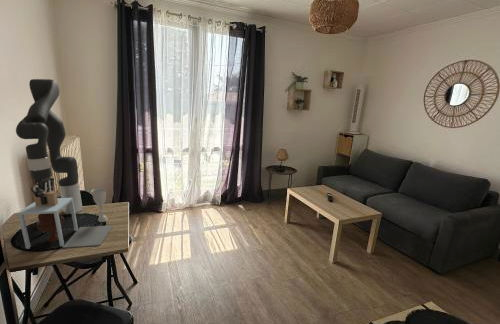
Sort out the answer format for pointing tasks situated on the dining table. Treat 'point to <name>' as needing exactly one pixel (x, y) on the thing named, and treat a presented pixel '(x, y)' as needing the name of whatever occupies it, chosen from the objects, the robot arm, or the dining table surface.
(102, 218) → the chalice
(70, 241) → the mat
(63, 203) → the cover
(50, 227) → the ice cream bowl
